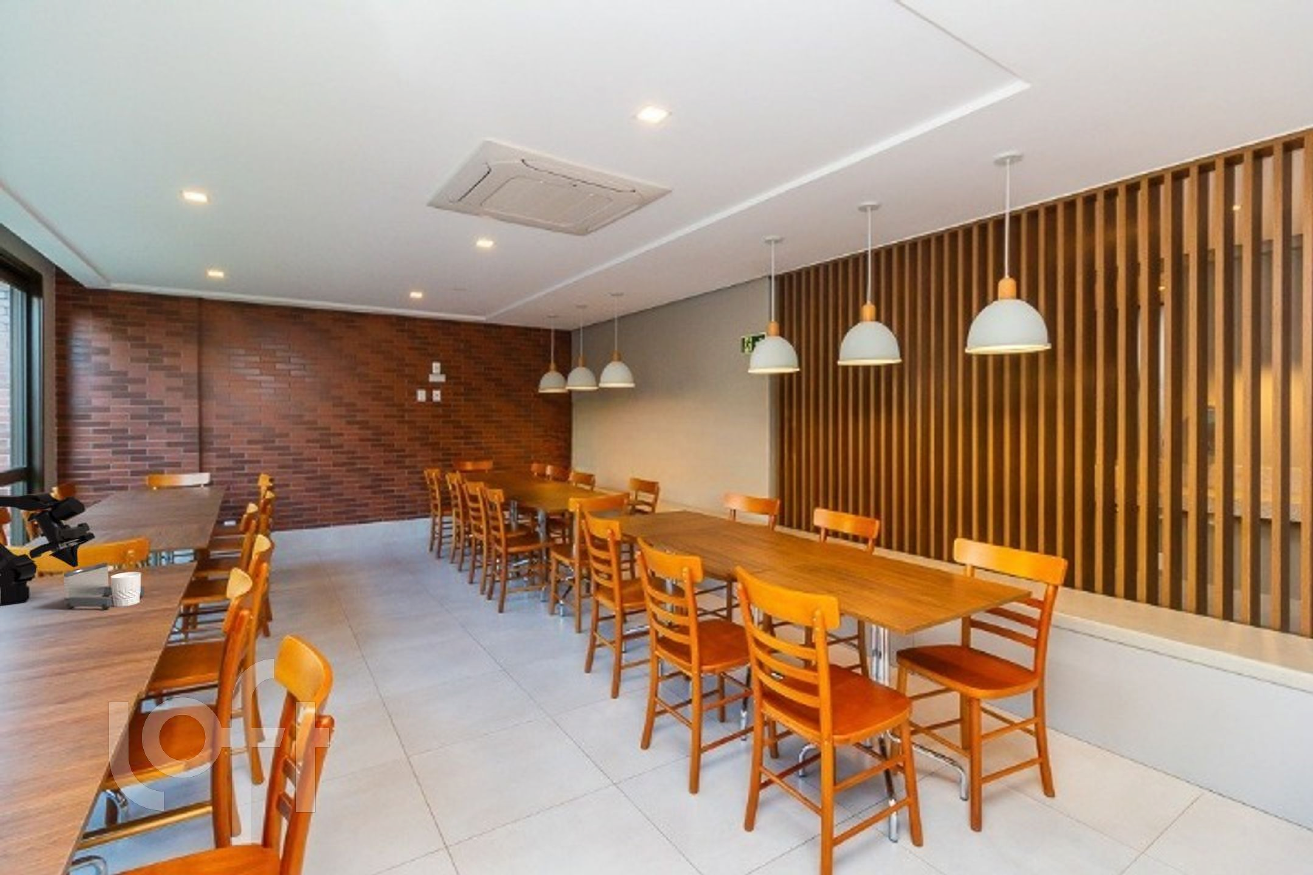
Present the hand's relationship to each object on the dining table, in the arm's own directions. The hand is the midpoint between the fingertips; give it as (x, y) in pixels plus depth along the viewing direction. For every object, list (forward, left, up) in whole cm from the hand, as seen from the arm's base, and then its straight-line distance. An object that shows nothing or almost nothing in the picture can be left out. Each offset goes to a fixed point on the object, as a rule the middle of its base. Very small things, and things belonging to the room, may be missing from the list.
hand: (75, 566), depth 215 cm
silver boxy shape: (+7, -11, -12) cm, 18 cm away
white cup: (+13, -16, -12) cm, 24 cm away
